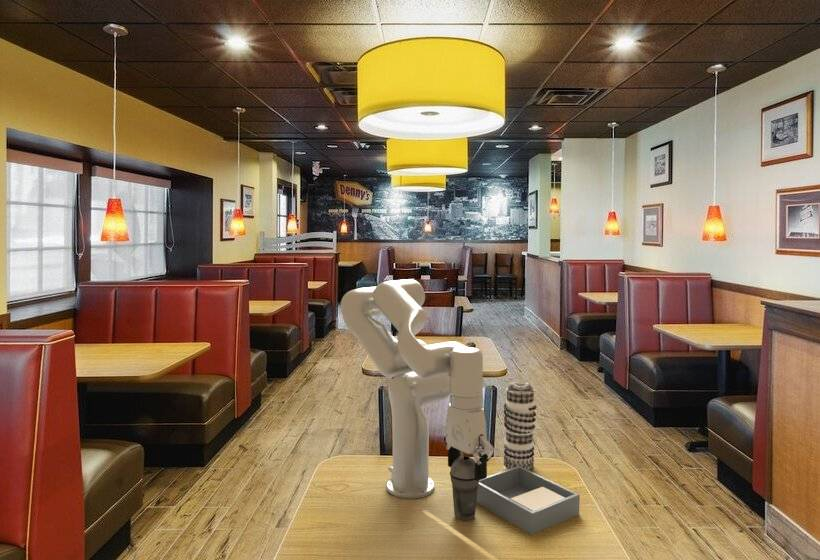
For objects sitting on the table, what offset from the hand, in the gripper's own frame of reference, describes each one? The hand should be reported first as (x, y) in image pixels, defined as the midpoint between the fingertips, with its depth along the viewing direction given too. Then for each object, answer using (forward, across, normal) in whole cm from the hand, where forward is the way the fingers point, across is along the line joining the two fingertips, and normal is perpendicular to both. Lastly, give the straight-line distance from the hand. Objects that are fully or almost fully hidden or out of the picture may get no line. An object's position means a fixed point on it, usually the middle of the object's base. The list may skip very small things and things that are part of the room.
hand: (466, 472), depth 141 cm
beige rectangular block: (+11, +9, +15) cm, 21 cm away
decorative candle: (+12, -14, +31) cm, 36 cm away
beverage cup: (+12, -1, 0) cm, 12 cm away
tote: (+12, +4, +15) cm, 20 cm away
